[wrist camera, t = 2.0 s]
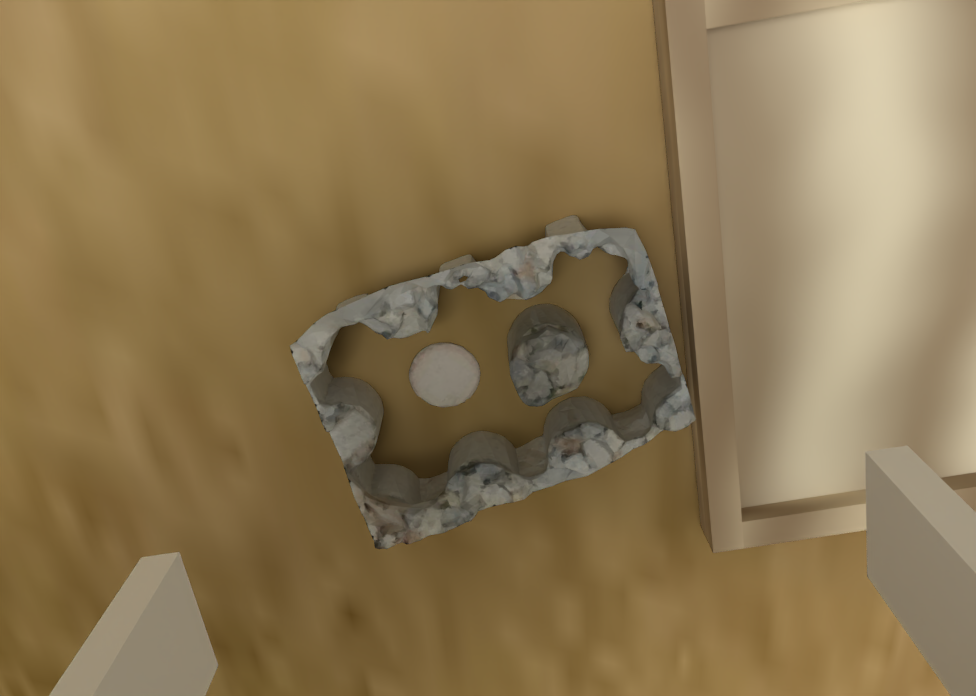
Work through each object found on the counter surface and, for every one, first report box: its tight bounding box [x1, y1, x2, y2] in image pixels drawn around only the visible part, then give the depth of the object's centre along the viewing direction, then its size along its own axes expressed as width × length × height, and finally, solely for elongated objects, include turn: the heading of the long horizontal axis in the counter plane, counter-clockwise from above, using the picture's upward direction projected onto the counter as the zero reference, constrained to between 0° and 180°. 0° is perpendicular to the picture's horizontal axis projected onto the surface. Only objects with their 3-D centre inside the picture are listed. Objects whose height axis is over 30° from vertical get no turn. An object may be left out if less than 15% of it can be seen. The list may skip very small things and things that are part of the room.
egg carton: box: [290, 215, 696, 549], centre depth 25 cm, size 11×8×4 cm
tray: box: [652, 0, 976, 553], centre depth 25 cm, size 16×17×2 cm
